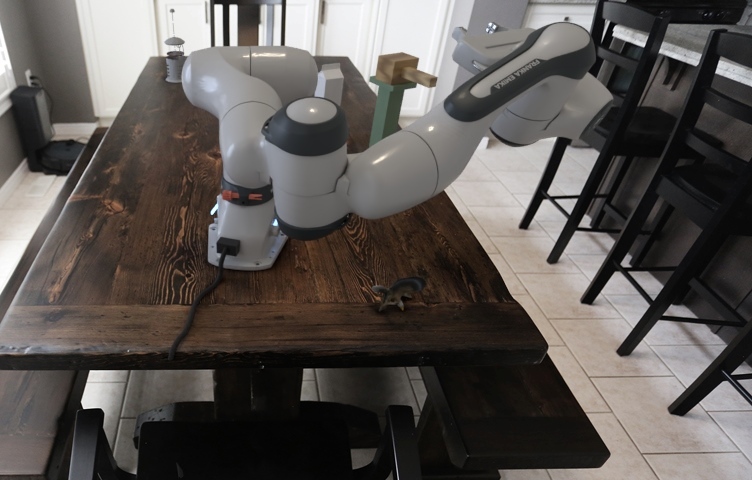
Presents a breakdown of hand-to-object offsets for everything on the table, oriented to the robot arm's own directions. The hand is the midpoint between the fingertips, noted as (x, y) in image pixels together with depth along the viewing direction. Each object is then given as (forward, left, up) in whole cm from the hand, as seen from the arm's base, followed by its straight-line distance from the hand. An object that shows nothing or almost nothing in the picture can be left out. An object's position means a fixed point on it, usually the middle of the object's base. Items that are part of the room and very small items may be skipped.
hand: (473, 28), depth 96 cm
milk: (+49, +26, -41) cm, 69 cm away
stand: (+21, +11, -41) cm, 47 cm away
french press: (+107, +88, -41) cm, 144 cm away
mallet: (+16, +8, -15) cm, 23 cm away
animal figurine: (-33, +9, -41) cm, 54 cm away
